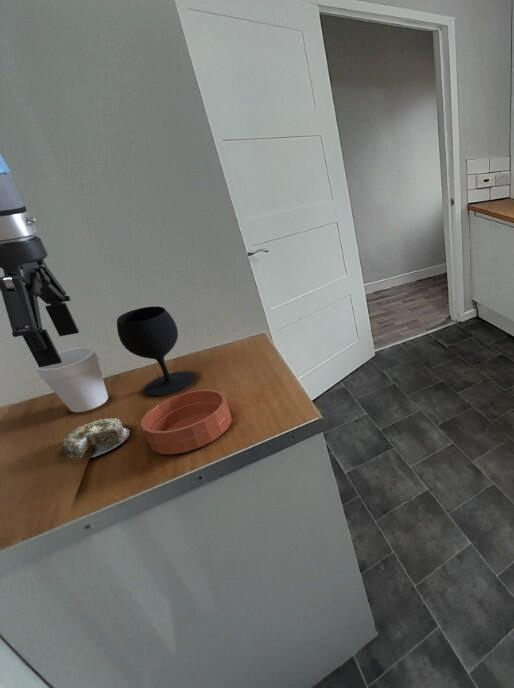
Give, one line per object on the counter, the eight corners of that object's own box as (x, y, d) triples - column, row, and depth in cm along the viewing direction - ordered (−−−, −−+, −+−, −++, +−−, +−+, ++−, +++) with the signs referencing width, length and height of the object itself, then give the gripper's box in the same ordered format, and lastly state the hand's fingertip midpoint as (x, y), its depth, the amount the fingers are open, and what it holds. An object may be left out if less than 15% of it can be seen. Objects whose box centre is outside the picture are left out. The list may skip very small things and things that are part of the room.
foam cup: (59, 424, 90) (30, 375, 84) (64, 403, 96) (38, 356, 91) (116, 406, 95) (93, 360, 90) (118, 387, 102) (96, 343, 96)
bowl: (147, 466, 79) (136, 442, 77) (154, 425, 90) (145, 403, 87) (233, 438, 87) (226, 415, 84) (230, 403, 97) (223, 382, 95)
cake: (55, 455, 82) (42, 434, 80) (116, 424, 91) (105, 404, 88) (79, 468, 78) (66, 446, 76) (140, 435, 87) (130, 414, 84)
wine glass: (193, 368, 110) (168, 301, 102) (197, 386, 103) (170, 316, 94) (144, 382, 104) (112, 312, 96) (144, 403, 97) (110, 329, 88)
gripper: (13, 254, 62) (72, 372, 70) (57, 222, 80) (99, 319, 89) (-65, 262, 58) (8, 386, 66) (1, 227, 76) (51, 327, 85)
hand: (60, 348), depth 78 cm, fingers open, 13 cm apart
